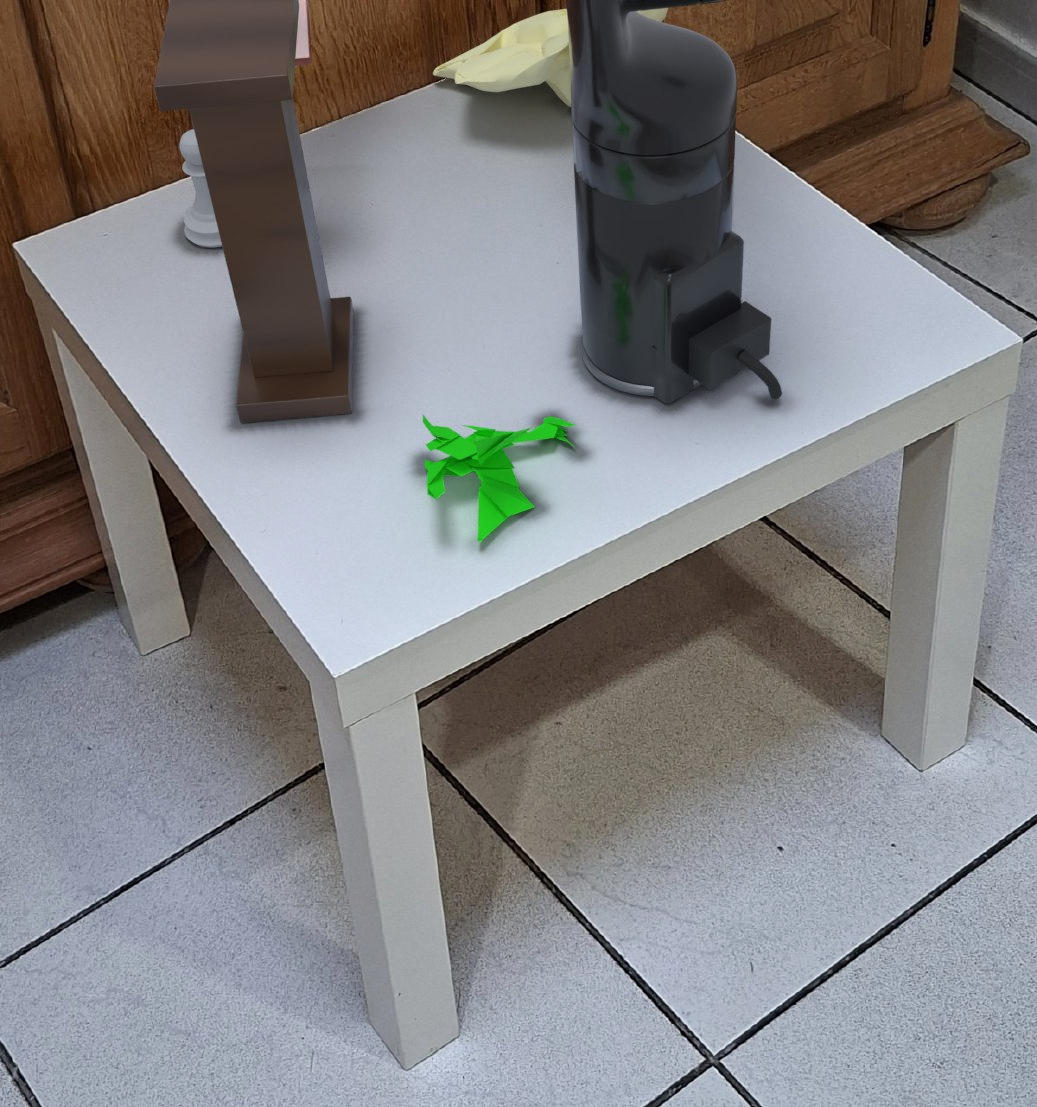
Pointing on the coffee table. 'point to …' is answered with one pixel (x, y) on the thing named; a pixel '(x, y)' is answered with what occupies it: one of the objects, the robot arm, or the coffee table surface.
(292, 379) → the wooden pedestal stand
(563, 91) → the cloth
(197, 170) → the chess piece
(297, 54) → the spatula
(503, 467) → the figurine
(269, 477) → the coffee table surface
